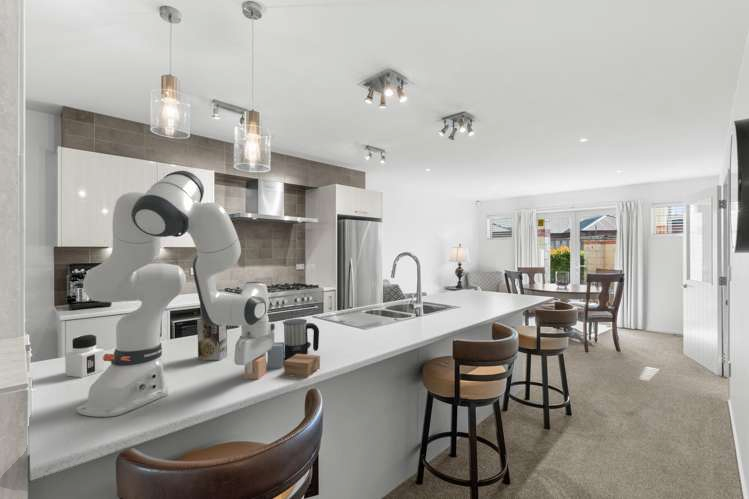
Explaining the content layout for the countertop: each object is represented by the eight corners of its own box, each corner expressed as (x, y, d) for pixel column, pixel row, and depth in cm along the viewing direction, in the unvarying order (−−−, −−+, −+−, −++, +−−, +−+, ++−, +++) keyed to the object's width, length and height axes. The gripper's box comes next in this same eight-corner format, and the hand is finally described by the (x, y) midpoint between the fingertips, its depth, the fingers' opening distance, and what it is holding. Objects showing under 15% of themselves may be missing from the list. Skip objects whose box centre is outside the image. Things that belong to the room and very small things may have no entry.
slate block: (281, 368, 133) (281, 346, 133) (267, 368, 133) (267, 346, 133) (284, 363, 138) (284, 342, 138) (270, 363, 138) (270, 342, 138)
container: (104, 370, 131) (103, 334, 131) (81, 378, 124) (81, 339, 123) (88, 368, 133) (87, 332, 133) (65, 375, 126) (64, 338, 126)
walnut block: (308, 378, 124) (308, 363, 124) (284, 375, 126) (284, 361, 126) (319, 369, 132) (319, 355, 132) (297, 367, 135) (297, 353, 135)
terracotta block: (258, 379, 122) (258, 361, 122) (245, 378, 123) (244, 360, 123) (266, 373, 127) (265, 356, 127) (252, 372, 128) (252, 355, 128)
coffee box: (227, 355, 148) (227, 315, 148) (219, 360, 142) (219, 318, 141) (206, 354, 149) (205, 315, 149) (197, 360, 143) (196, 318, 142)
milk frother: (288, 364, 137) (288, 324, 137) (273, 354, 150) (273, 317, 150) (322, 357, 146) (322, 319, 145) (305, 348, 159) (305, 313, 158)
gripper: (247, 337, 114) (247, 381, 114) (277, 323, 134) (277, 361, 134) (228, 336, 115) (229, 380, 116) (261, 322, 135) (261, 359, 136)
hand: (255, 369), depth 125 cm, fingers closed on terracotta block, 5 cm apart
